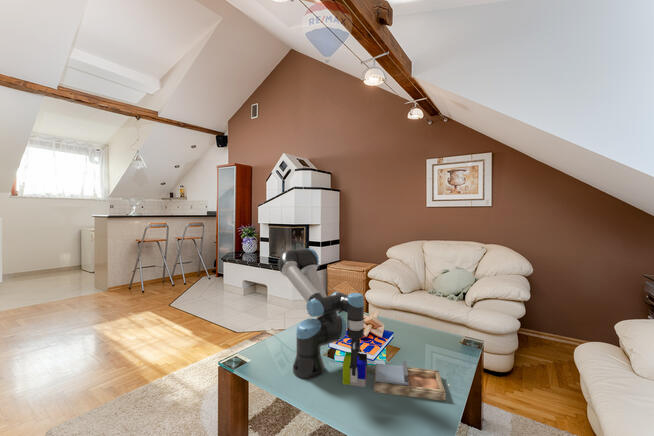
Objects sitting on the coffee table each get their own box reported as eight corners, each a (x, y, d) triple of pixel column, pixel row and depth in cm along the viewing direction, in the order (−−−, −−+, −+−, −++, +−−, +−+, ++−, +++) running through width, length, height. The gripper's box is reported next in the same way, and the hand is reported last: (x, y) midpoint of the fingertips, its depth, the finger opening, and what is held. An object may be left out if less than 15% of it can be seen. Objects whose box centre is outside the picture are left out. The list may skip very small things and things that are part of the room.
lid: (375, 381, 131) (375, 373, 131) (376, 365, 144) (376, 357, 144) (408, 385, 128) (408, 376, 128) (406, 368, 142) (406, 360, 142)
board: (374, 391, 129) (374, 384, 129) (375, 369, 147) (375, 363, 147) (445, 400, 123) (445, 392, 123) (438, 376, 141) (438, 369, 141)
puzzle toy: (365, 387, 133) (365, 364, 132) (342, 384, 135) (342, 362, 134) (366, 374, 143) (366, 353, 142) (345, 372, 145) (345, 351, 144)
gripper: (361, 340, 125) (361, 390, 125) (365, 318, 149) (365, 360, 150) (343, 338, 126) (343, 388, 127) (350, 317, 151) (350, 359, 151)
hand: (355, 373), depth 138 cm, fingers open, 13 cm apart
